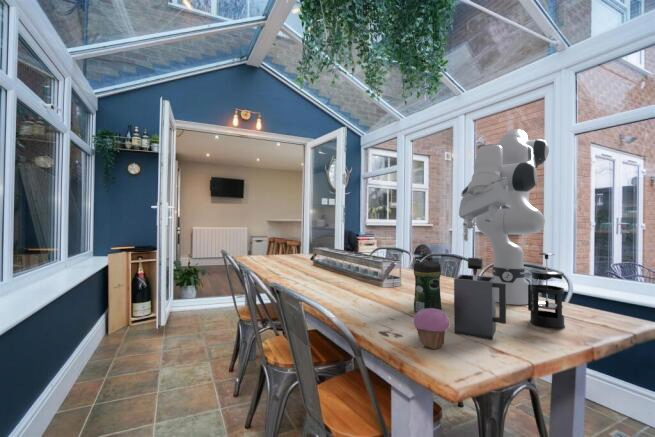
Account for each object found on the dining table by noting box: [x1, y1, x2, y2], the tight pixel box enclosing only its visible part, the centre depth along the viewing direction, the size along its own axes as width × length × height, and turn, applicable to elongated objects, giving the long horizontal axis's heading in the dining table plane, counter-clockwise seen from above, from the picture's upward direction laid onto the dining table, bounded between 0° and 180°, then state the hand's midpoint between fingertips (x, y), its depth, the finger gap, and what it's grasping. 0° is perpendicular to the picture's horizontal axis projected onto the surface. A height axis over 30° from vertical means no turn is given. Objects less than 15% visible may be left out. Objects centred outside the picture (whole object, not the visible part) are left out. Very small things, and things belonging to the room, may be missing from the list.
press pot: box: [453, 273, 507, 341], centre depth 95 cm, size 10×13×16 cm
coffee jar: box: [413, 260, 443, 313], centre depth 117 cm, size 10×8×19 cm
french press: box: [527, 252, 566, 330], centre depth 103 cm, size 12×9×23 cm
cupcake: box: [413, 308, 450, 350], centre depth 84 cm, size 9×9×10 cm
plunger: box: [467, 257, 483, 280], centre depth 95 cm, size 8×8×16 cm
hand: (479, 224), depth 103 cm, fingers open, 8 cm apart
